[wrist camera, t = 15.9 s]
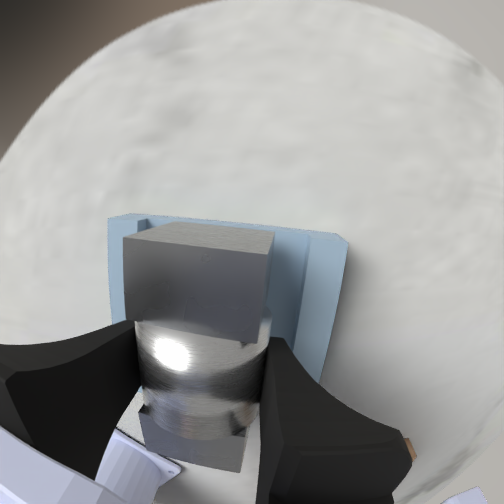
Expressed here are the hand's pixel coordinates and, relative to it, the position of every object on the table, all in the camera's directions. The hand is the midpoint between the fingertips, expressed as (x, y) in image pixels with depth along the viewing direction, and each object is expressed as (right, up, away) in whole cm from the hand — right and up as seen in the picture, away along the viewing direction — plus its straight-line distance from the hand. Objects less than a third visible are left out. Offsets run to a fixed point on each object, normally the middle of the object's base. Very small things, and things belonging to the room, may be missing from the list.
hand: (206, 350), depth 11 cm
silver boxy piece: (0, 0, +1) cm, 2 cm away
